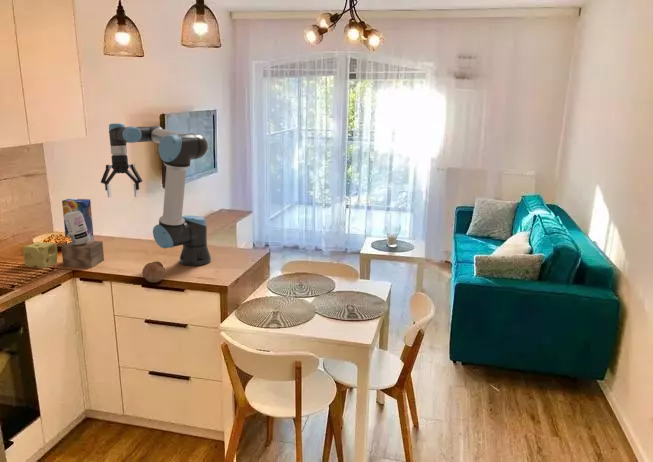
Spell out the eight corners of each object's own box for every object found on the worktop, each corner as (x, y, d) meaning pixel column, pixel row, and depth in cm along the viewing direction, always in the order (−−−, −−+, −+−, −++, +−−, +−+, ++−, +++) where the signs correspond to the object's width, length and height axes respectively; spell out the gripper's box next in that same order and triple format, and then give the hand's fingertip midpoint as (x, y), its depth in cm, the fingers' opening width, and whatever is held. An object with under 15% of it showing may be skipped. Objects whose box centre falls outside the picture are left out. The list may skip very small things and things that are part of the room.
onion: (162, 285, 233) (170, 265, 234) (156, 287, 224) (166, 265, 224) (142, 277, 233) (151, 257, 233) (136, 279, 223) (145, 257, 224)
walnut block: (104, 260, 257) (102, 241, 254) (91, 268, 245) (90, 247, 243) (76, 259, 258) (74, 240, 255) (63, 266, 246) (61, 246, 244)
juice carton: (94, 241, 289) (90, 199, 283) (86, 245, 282) (82, 201, 276) (74, 240, 291) (70, 198, 285) (66, 243, 284) (61, 200, 278)
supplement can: (78, 240, 253) (68, 211, 248) (93, 238, 252) (84, 209, 247) (69, 246, 245) (59, 216, 240) (85, 244, 244) (75, 214, 240)
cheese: (43, 268, 242) (41, 248, 240) (23, 266, 244) (21, 246, 242) (58, 262, 252) (56, 242, 250) (39, 260, 254) (37, 240, 252)
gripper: (146, 154, 264) (149, 195, 267) (97, 155, 264) (101, 196, 267) (141, 154, 256) (145, 197, 260) (91, 155, 256) (95, 198, 260)
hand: (123, 196), depth 264 cm, fingers open, 13 cm apart
